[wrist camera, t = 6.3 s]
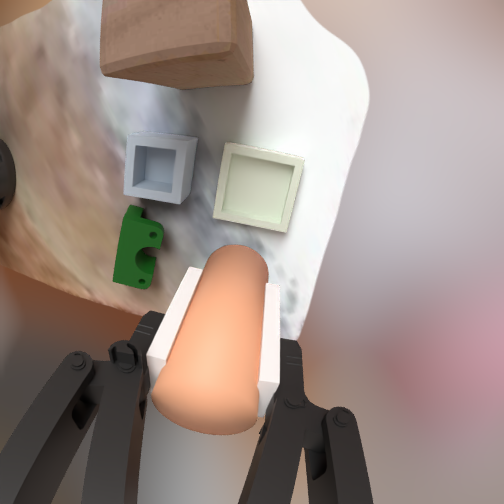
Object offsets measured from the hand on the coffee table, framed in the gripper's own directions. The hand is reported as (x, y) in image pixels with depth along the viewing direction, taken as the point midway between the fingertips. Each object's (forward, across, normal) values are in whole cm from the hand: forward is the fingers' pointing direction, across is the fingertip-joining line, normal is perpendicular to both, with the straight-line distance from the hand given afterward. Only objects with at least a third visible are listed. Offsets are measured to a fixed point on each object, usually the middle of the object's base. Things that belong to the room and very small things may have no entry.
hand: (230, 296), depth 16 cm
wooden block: (+25, -9, +17) cm, 32 cm away
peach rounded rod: (+3, 0, 0) cm, 3 cm away
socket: (+25, -13, +1) cm, 28 cm away
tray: (+25, 0, 0) cm, 25 cm away
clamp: (+25, -16, -12) cm, 32 cm away
